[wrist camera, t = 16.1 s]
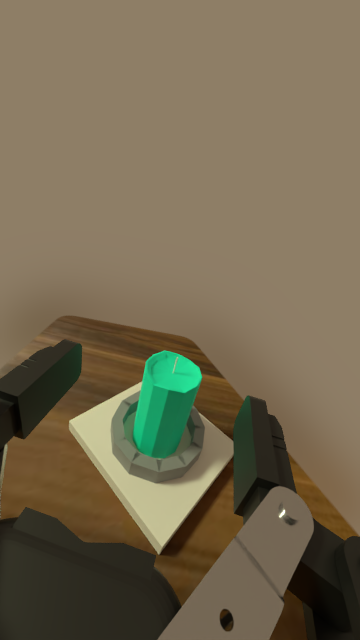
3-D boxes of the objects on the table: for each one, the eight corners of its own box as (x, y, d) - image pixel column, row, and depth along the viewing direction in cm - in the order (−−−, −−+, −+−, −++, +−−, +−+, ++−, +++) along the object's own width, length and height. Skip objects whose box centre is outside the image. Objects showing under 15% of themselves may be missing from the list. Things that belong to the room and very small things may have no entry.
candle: (127, 418, 30) (141, 341, 25) (171, 411, 33) (191, 339, 27) (138, 465, 25) (157, 381, 20) (187, 452, 28) (217, 375, 23)
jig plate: (235, 453, 31) (244, 436, 29) (159, 554, 21) (166, 536, 19) (152, 381, 39) (156, 365, 38) (69, 429, 29) (69, 409, 27)
